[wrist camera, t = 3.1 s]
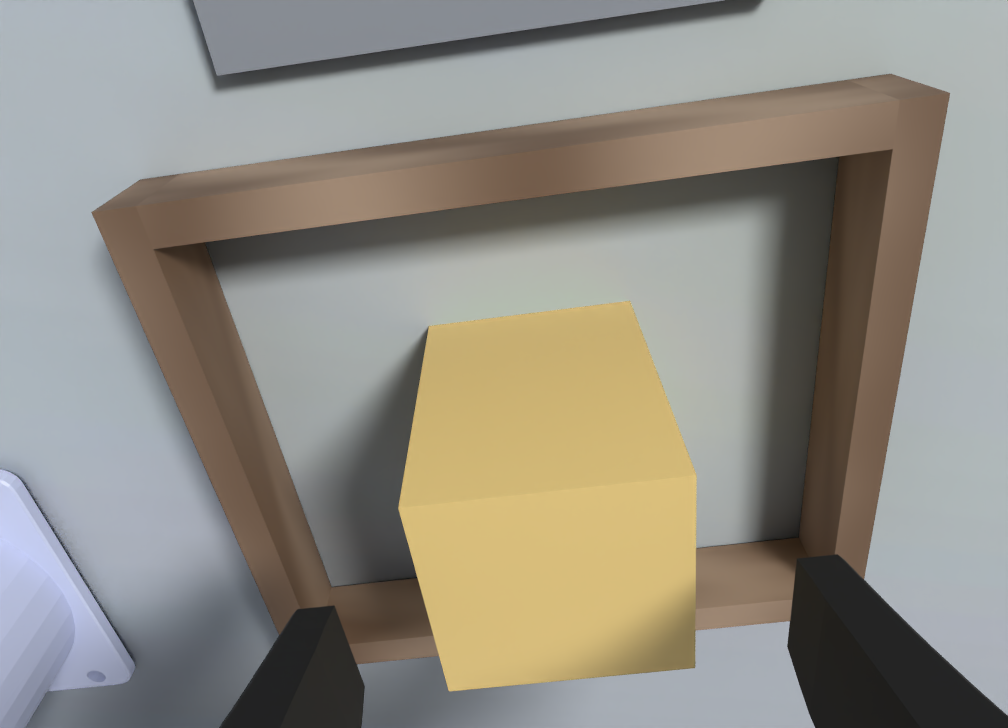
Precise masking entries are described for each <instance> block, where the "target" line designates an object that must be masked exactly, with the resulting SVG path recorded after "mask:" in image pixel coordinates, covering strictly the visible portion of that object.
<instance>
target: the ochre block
mask: <svg viewBox="0 0 1008 728" xmlns="http://www.w3.org/2000/svg"><path fill="white" fill-rule="evenodd" d="M398 509H399V513H400V516H401V520H402V523H403V527H404V531H405V534H406V538H407V542H408V545H409V549H410V552H411V556H412V560H413V563H414V567H415V570H416V574H417V578H418V581H419V585H420V589H421V592H422V596H423V599H424V603H425V607H426V610H427V614H428V618H429V621H430V625H431V628H432V632H433V636H434V639H435V643H436V646H437V650H438V654H439V657H440V661H441V665H442V668H443V672H444V675H445V679H446V683H447V686H448V690H449V691H459V690H469V689H480V688H490V687H501V686H511V685H522V684H532V683H543V682H553V681H564V680H574V679H585V678H595V677H606V676H616V675H627V674H637V673H648V672H658V671H669V670H679V669H690V668H695V613H696V473H695V470H694V467H693V465H692V462H691V460H690V457H689V454H688V452H687V449H686V446H685V444H684V441H683V439H682V436H681V433H680V431H679V428H678V426H677V423H676V420H675V418H674V415H673V412H672V410H671V407H670V405H669V402H668V399H667V397H666V394H665V391H664V389H663V386H662V384H661V381H660V378H659V376H658V373H657V371H656V368H655V365H654V363H653V360H652V357H651V355H650V352H649V350H648V347H647V344H646V342H645V339H644V337H643V334H642V331H641V329H640V326H639V323H638V321H637V318H636V316H635V313H634V310H633V308H632V305H631V303H630V301H625V302H617V303H609V304H601V305H593V306H585V307H577V308H569V309H561V310H553V311H545V312H537V313H529V314H521V315H513V316H505V317H497V318H489V319H481V320H474V321H466V322H458V323H450V324H442V325H434V326H429V329H428V335H427V341H426V347H425V353H424V359H423V365H422V370H421V376H420V382H419V388H418V394H417V400H416V406H415V412H414V418H413V424H412V430H411V436H410V441H409V447H408V453H407V459H406V465H405V471H404V477H403V483H402V489H401V495H400V501H399V507H398Z"/></svg>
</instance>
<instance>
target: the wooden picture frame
mask: <svg viewBox="0 0 1008 728" xmlns="http://www.w3.org/2000/svg"><path fill="white" fill-rule="evenodd" d="M949 96H950V93H948V92H945V91H942V90H939V89H936V88H933V87H930V86H927V85H924V84H921V83H917V82H914V81H911V80H908V79H905V78H902V77H899V76H896V75H893V74H886V75H879V76H872V77H865V78H858V79H851V80H844V81H837V82H830V83H823V84H815V85H808V86H801V87H794V88H787V89H780V90H773V91H766V92H759V93H752V94H745V95H737V96H730V97H723V98H716V99H709V100H702V101H695V102H688V103H681V104H674V105H667V106H659V107H652V108H645V109H638V110H631V111H624V112H617V113H610V114H603V115H596V116H589V117H581V118H574V119H567V120H560V121H553V122H546V123H539V124H532V125H525V126H518V127H510V128H503V129H496V130H489V131H482V132H475V133H468V134H461V135H454V136H447V137H440V138H432V139H425V140H418V141H411V142H404V143H397V144H390V145H383V146H376V147H369V148H362V149H354V150H347V151H340V152H333V153H326V154H319V155H312V156H305V157H298V158H291V159H284V160H276V161H269V162H262V163H255V164H248V165H241V166H234V167H227V168H220V169H213V170H206V171H198V172H191V173H184V174H177V175H170V176H163V177H156V178H149V179H142V180H139V181H138V182H136V183H135V184H133V185H132V186H130V187H129V188H127V189H126V190H124V191H123V192H121V193H120V194H118V195H117V196H115V197H114V198H112V199H111V200H109V201H108V202H106V203H105V204H103V205H102V206H100V207H99V208H97V209H96V210H94V211H93V212H92V215H93V217H94V219H95V221H96V224H97V226H98V228H99V230H100V233H101V235H102V237H103V239H104V242H105V244H106V246H107V248H108V251H109V253H110V255H111V257H112V260H113V262H114V264H115V266H116V269H117V271H118V273H119V275H120V278H121V280H122V282H123V284H124V287H125V289H126V291H127V293H128V296H129V298H130V300H131V302H132V305H133V307H134V309H135V311H136V314H137V316H138V318H139V320H140V323H141V325H142V327H143V329H144V332H145V334H146V336H147V338H148V341H149V343H150V345H151V347H152V350H153V352H154V354H155V356H156V359H157V361H158V363H159V365H160V368H161V370H162V372H163V374H164V377H165V379H166V381H167V383H168V386H169V388H170V390H171V392H172V395H173V397H174V399H175V401H176V404H177V406H178V408H179V410H180V413H181V415H182V417H183V419H184V422H185V424H186V426H187V429H188V431H189V433H190V435H191V438H192V440H193V442H194V444H195V447H196V449H197V451H198V453H199V456H200V458H201V460H202V462H203V465H204V467H205V469H206V471H207V474H208V476H209V478H210V480H211V483H212V485H213V487H214V489H215V492H216V494H217V496H218V498H219V501H220V503H221V505H222V507H223V510H224V512H225V514H226V516H227V519H228V521H229V523H230V525H231V528H232V530H233V532H234V534H235V537H236V539H237V541H238V543H239V546H240V548H241V550H242V552H243V555H244V557H245V559H246V561H247V564H248V566H249V568H250V570H251V573H252V575H253V577H254V579H255V582H256V584H257V586H258V588H259V591H260V593H261V595H262V597H263V600H264V602H265V604H266V606H267V609H268V611H269V613H270V615H271V618H272V620H273V622H274V624H275V627H276V629H277V631H278V633H279V635H280V634H281V632H282V630H283V629H284V627H285V626H286V624H287V622H288V621H289V619H290V618H291V616H292V615H293V613H294V612H295V611H296V610H297V609H304V608H314V607H324V606H333V605H335V608H336V611H337V613H338V616H339V619H340V621H341V624H342V627H343V630H344V632H345V635H346V638H347V640H348V643H349V646H350V648H351V651H352V654H353V656H354V659H355V662H356V664H364V663H374V662H384V661H394V660H404V659H414V658H424V657H434V656H439V654H438V650H437V646H436V643H435V639H434V636H433V632H432V628H431V625H430V621H429V618H428V614H427V610H426V607H425V603H424V599H423V596H422V592H421V589H420V585H419V581H418V578H414V579H405V580H395V581H386V582H376V583H367V584H358V585H348V586H339V587H331V584H330V582H329V579H328V576H327V574H326V571H325V568H324V565H323V563H322V560H321V557H320V555H319V552H318V549H317V546H316V544H315V541H314V538H313V536H312V533H311V530H310V527H309V525H308V522H307V519H306V517H305V514H304V511H303V508H302V506H301V503H300V500H299V498H298V495H297V492H296V489H295V487H294V484H293V481H292V479H291V476H290V473H289V470H288V468H287V465H286V462H285V460H284V457H283V454H282V451H281V449H280V446H279V443H278V441H277V438H276V435H275V432H274V430H273V427H272V424H271V422H270V419H269V416H268V413H267V411H266V408H265V405H264V403H263V400H262V397H261V394H260V392H259V389H258V386H257V384H256V381H255V378H254V375H253V373H252V370H251V367H250V365H249V362H248V359H247V356H246V354H245V351H244V348H243V346H242V343H241V340H240V337H239V335H238V332H237V329H236V327H235V324H234V321H233V318H232V316H231V313H230V310H229V308H228V305H227V302H226V299H225V297H224V294H223V291H222V289H221V286H220V283H219V280H218V278H217V275H216V272H215V270H214V267H213V264H212V261H211V259H210V256H209V253H208V251H207V248H206V245H205V242H210V241H217V240H225V239H232V238H240V237H247V236H254V235H262V234H269V233H277V232H284V231H291V230H299V229H306V228H314V227H321V226H328V225H336V224H343V223H351V222H358V221H365V220H373V219H380V218H387V217H395V216H402V215H410V214H417V213H424V212H432V211H439V210H447V209H454V208H461V207H469V206H476V205H484V204H491V203H498V202H506V201H513V200H521V199H528V198H535V197H543V196H550V195H558V194H565V193H572V192H580V191H587V190H595V189H602V188H609V187H617V186H624V185H632V184H639V183H646V182H654V181H661V180H669V179H676V178H683V177H691V176H698V175H705V174H713V173H720V172H728V171H735V170H742V169H750V168H757V167H765V166H772V165H779V164H787V163H794V162H802V161H809V160H816V159H824V158H831V157H839V163H838V172H837V182H836V191H835V201H834V210H833V219H832V229H831V238H830V248H829V257H828V267H827V276H826V285H825V295H824V304H823V314H822V323H821V333H820V342H819V351H818V361H817V370H816V380H815V389H814V399H813V408H812V417H811V427H810V436H809V446H808V455H807V465H806V474H805V483H804V493H803V502H802V512H801V521H800V531H799V538H791V539H781V540H772V541H762V542H753V543H744V544H734V545H725V546H715V547H706V548H696V613H695V630H704V629H714V628H724V627H734V626H744V625H754V624H764V623H774V622H784V621H790V618H791V609H792V599H793V590H794V580H795V571H796V562H797V558H807V557H816V556H826V555H836V554H838V555H839V556H841V557H842V558H843V559H844V560H845V561H846V562H847V563H848V564H849V565H850V566H851V567H852V568H853V569H854V570H855V571H856V572H857V573H858V574H859V575H860V576H861V577H862V578H863V579H864V576H865V571H866V565H867V559H868V554H869V548H870V542H871V537H872V531H873V525H874V520H875V514H876V509H877V503H878V497H879V492H880V486H881V480H882V475H883V469H884V463H885V458H886V452H887V446H888V441H889V435H890V429H891V424H892V418H893V412H894V407H895V401H896V396H897V390H898V384H899V379H900V373H901V367H902V362H903V356H904V350H905V345H906V339H907V333H908V328H909V322H910V316H911V311H912V305H913V299H914V294H915V288H916V283H917V277H918V271H919V266H920V260H921V254H922V249H923V243H924V237H925V232H926V226H927V220H928V215H929V209H930V203H931V198H932V192H933V186H934V181H935V175H936V170H937V164H938V158H939V153H940V147H941V141H942V136H943V130H944V124H945V119H946V113H947V107H948V102H949Z"/></svg>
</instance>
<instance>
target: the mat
mask: <svg viewBox="0 0 1008 728" xmlns="http://www.w3.org/2000/svg"><path fill="white" fill-rule="evenodd" d="M717 1H723V0H193V2H194V5H195V8H196V11H197V15H198V18H199V21H200V24H201V27H202V30H203V33H204V37H205V40H206V43H207V46H208V49H209V52H210V55H211V58H212V62H213V65H214V68H215V71H216V74H217V76H219V75H225V74H232V73H239V72H245V71H252V70H259V69H266V68H272V67H279V66H286V65H293V64H299V63H306V62H313V61H319V60H326V59H333V58H340V57H346V56H353V55H360V54H367V53H373V52H380V51H387V50H394V49H400V48H407V47H414V46H420V45H427V44H434V43H441V42H447V41H454V40H461V39H468V38H474V37H481V36H488V35H495V34H501V33H508V32H515V31H521V30H528V29H535V28H542V27H548V26H555V25H562V24H569V23H575V22H582V21H589V20H596V19H602V18H609V17H616V16H622V15H629V14H636V13H643V12H649V11H656V10H663V9H670V8H676V7H683V6H690V5H697V4H703V3H710V2H717Z"/></svg>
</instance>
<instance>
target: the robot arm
mask: <svg viewBox="0 0 1008 728" xmlns="http://www.w3.org/2000/svg"><path fill="white" fill-rule="evenodd" d="M787 647H788V650H789V653H790V656H791V659H792V662H793V666H794V669H795V672H796V675H797V678H798V681H799V685H800V687H801V690H802V693H803V696H804V699H805V702H806V705H807V708H808V711H809V714H810V717H811V719H812V721H813V723H814V726H815V728H1008V715H1006V714H1005V713H1004V712H1003V711H1002V710H1000V709H999V708H998V707H997V706H996V705H995V704H994V703H993V702H991V701H990V700H989V699H988V698H987V697H986V696H985V695H984V694H982V693H981V692H980V691H979V690H978V689H977V688H976V687H975V686H974V685H972V684H971V683H970V682H969V681H968V680H967V679H966V678H965V677H964V676H963V675H962V674H961V673H959V672H958V671H957V670H956V669H955V668H954V667H953V666H952V665H951V664H950V663H949V662H948V661H946V660H945V659H944V658H943V657H942V656H941V655H940V654H939V653H938V652H937V651H936V650H935V649H934V648H932V647H931V646H930V645H929V644H928V643H927V642H926V641H925V640H924V639H923V638H922V637H921V636H920V635H919V634H918V633H917V632H916V631H915V630H914V629H913V628H912V627H911V626H910V625H909V624H908V623H907V622H906V621H905V620H904V619H903V618H902V617H901V616H900V615H899V614H898V613H897V612H895V611H894V610H893V609H892V608H891V607H890V606H889V605H888V604H887V603H886V602H885V601H884V600H883V599H882V598H881V596H880V595H879V594H878V593H877V592H876V591H875V590H874V589H873V588H872V587H871V586H870V585H869V584H868V583H867V582H866V581H865V580H864V579H863V578H862V577H861V576H860V575H859V574H858V573H857V572H856V571H855V570H854V569H853V568H852V567H851V566H850V565H849V564H848V563H847V562H846V561H845V560H844V559H843V558H842V557H841V556H839V555H838V554H836V555H826V556H816V557H807V558H797V562H796V571H795V580H794V590H793V599H792V609H791V618H790V627H789V637H788V646H787ZM134 670H135V664H134V662H133V660H132V659H131V657H130V655H129V654H128V652H127V651H126V649H125V647H124V646H123V644H122V642H121V641H120V639H119V638H118V636H117V634H116V633H115V631H114V630H113V628H112V626H111V625H110V623H109V621H108V620H107V618H106V617H105V615H104V613H103V612H102V610H101V609H100V607H99V605H98V604H97V602H96V600H95V599H94V597H93V596H92V594H91V592H90V591H89V589H88V588H87V586H86V584H85V583H84V581H83V580H82V578H81V576H80V575H79V573H78V571H77V570H76V568H75V567H74V565H73V563H72V562H71V560H70V559H69V557H68V555H67V554H66V552H65V550H64V549H63V547H62V546H61V544H60V542H59V541H58V539H57V538H56V536H55V534H54V533H53V531H52V529H51V528H50V526H49V525H48V523H47V521H46V520H45V518H44V517H43V515H42V513H41V512H40V510H39V508H38V507H37V505H36V504H35V502H34V500H33V499H32V497H31V496H30V494H29V492H28V491H27V489H26V487H25V486H24V484H23V483H22V481H21V480H20V479H19V478H18V477H17V476H16V475H14V474H12V473H11V472H8V471H5V470H0V728H25V727H26V726H27V724H28V722H29V721H30V719H31V717H32V716H33V714H34V712H35V711H36V709H37V707H38V706H39V704H40V702H41V700H42V699H43V697H44V695H45V694H46V692H48V691H58V690H68V689H78V688H88V687H98V686H108V685H118V684H123V683H126V682H127V681H129V680H130V678H131V676H132V674H133V672H134ZM364 689H365V686H364V683H363V680H362V678H361V675H360V672H359V670H358V667H357V664H356V662H355V659H354V656H353V654H352V651H351V648H350V646H349V643H348V640H347V638H346V635H345V632H344V630H343V627H342V624H341V621H340V619H339V616H338V613H337V611H336V608H335V605H333V606H324V607H314V608H304V609H297V610H296V611H295V612H294V613H293V615H292V616H291V618H290V619H289V621H288V622H287V624H286V626H285V627H284V629H283V630H282V632H281V634H280V635H279V637H278V638H277V640H276V642H275V643H274V645H273V646H272V648H271V650H270V651H269V653H268V654H267V656H266V657H265V659H264V661H263V662H262V664H261V665H260V667H259V668H258V670H257V672H256V673H255V675H254V676H253V678H252V679H251V681H250V682H249V684H248V686H247V687H246V689H245V690H244V692H243V693H242V695H241V696H240V698H239V699H238V701H237V702H236V704H235V705H234V707H233V708H232V710H231V711H230V713H229V714H228V716H227V717H226V718H225V720H224V721H223V723H222V724H221V726H220V727H219V728H361V725H362V714H363V701H364Z"/></svg>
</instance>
